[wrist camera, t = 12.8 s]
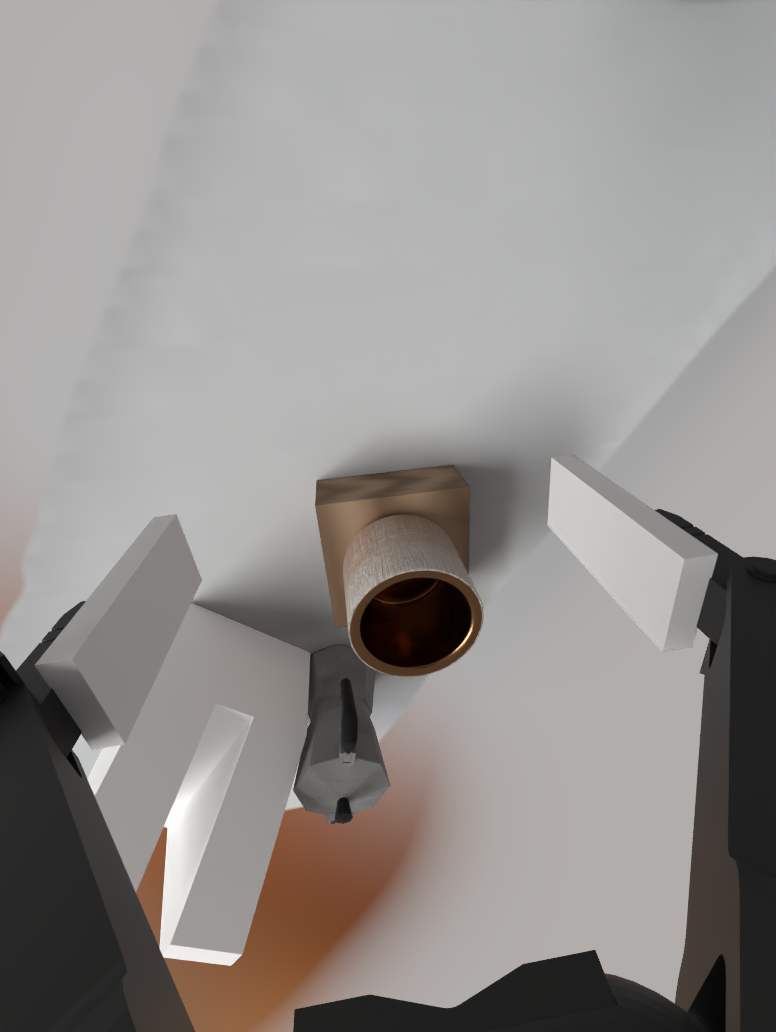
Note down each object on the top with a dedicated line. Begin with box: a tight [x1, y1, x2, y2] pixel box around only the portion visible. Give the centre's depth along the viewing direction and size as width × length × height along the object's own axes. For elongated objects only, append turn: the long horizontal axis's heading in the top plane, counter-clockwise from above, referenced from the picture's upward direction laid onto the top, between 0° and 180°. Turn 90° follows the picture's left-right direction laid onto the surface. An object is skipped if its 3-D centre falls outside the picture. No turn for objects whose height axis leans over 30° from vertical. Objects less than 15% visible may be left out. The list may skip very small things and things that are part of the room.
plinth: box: [315, 465, 469, 628], centre depth 45 cm, size 14×14×6 cm
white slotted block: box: [87, 603, 310, 966], centre depth 43 cm, size 19×15×25 cm
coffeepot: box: [293, 645, 390, 824], centre depth 47 cm, size 15×9×18 cm, turn 173°
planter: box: [343, 514, 483, 677], centre depth 38 cm, size 11×11×10 cm
